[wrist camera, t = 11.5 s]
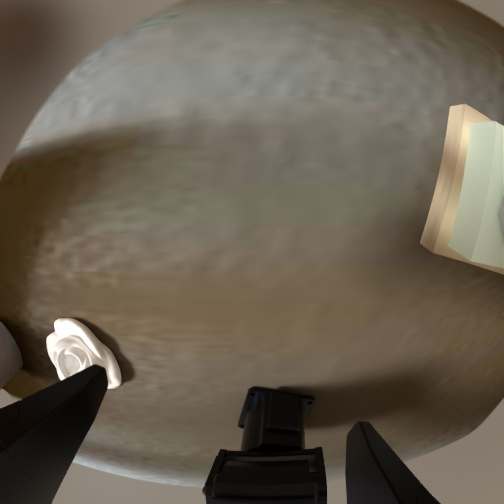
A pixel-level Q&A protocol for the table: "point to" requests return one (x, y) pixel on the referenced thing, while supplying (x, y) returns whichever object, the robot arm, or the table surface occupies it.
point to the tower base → (451, 185)
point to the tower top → (481, 197)
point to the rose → (80, 351)
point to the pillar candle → (8, 356)
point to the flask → (501, 215)
